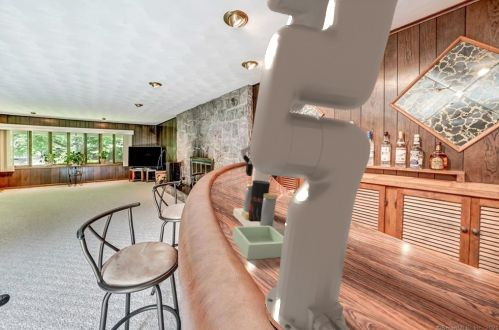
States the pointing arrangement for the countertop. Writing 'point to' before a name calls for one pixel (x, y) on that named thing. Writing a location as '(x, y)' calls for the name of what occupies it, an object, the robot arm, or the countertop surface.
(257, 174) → the cylindrical container
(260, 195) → the deodorant
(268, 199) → the fuse block
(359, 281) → the countertop surface
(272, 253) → the tray
